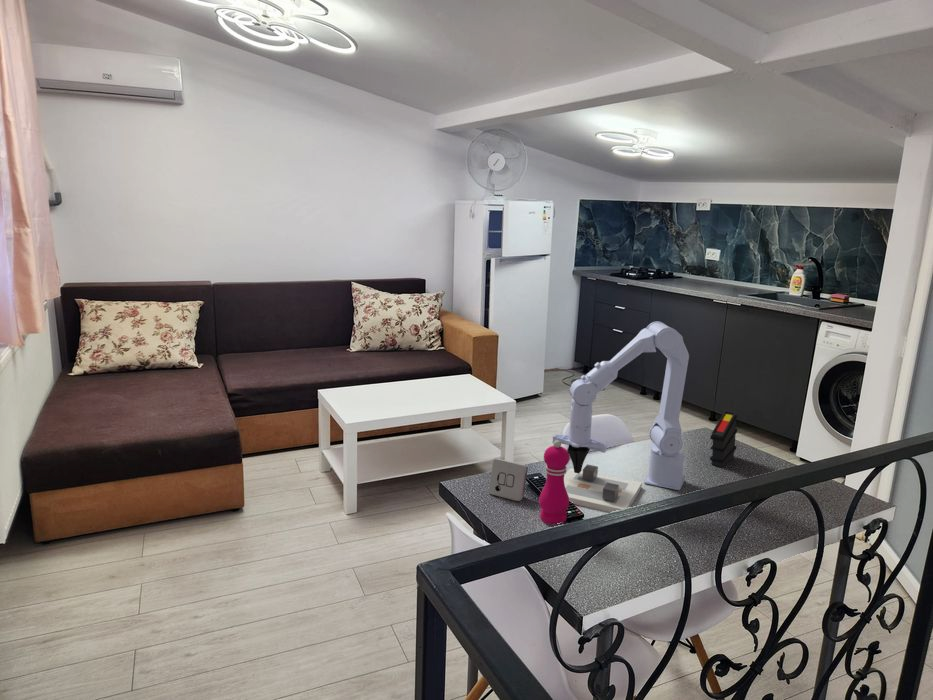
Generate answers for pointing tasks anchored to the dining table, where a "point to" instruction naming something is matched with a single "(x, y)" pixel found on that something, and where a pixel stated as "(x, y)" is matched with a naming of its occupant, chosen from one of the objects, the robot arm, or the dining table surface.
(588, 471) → the dark grey block
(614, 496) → the tab
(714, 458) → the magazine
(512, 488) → the electrical switch
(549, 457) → the pepper mill
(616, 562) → the dining table surface
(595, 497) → the switch panel
